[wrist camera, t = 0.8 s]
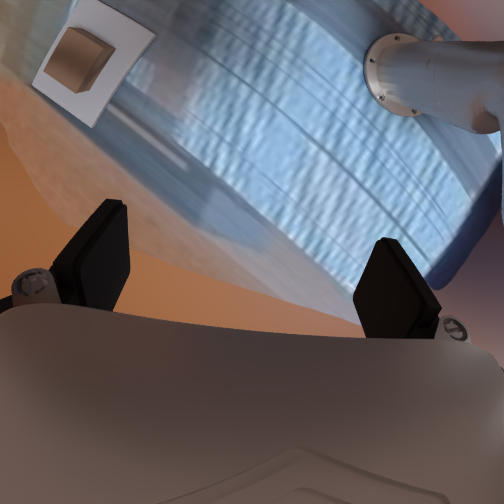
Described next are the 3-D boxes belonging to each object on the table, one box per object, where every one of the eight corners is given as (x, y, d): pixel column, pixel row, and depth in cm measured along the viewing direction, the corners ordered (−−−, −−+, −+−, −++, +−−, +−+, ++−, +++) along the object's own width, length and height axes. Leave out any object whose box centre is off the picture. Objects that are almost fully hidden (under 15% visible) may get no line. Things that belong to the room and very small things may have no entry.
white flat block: (88, -5, 26) (71, -10, 22) (157, 35, 31) (145, 31, 27) (35, 84, 32) (16, 88, 28) (94, 126, 38) (78, 134, 33)
